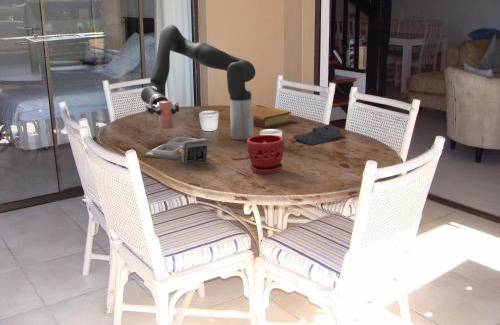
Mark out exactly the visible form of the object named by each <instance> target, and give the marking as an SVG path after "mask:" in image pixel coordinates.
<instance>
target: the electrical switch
mask: <svg viewBox="0 0 500 325" xmlns="http://www.w3.org/2000/svg"><path fill="white" fill-rule="evenodd" d="M196 139H197V140H188V141H184V142H183V148H182V157H181V162H182V163H185V164H186V165H187V166H189V165H195V164H203V163H206V162H207V155H208V154H207V153H208V144H207V143H208V139H206V138H199V139H198V138H196Z"/></svg>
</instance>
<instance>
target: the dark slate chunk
mask: <svg viewBox="0 0 500 325" xmlns="http://www.w3.org/2000/svg"><path fill="white" fill-rule="evenodd" d="M292 138H293V139H294V140H296V141H300V142H301V143H304V144H306V145H308V146H313V145H314V146H318V144H319V145H322V144H323V145H324V144H327V143H332V142H335V140H336V141H339V140H338V139H340V140H342V138H344V139H346V137H345V136H344V135H342V134H341V130H340V129H339V128H338V127H335V126H334V125H332V124H331V123H329V124H327V125H323V127H322V126H317V127H313V128H312V130H311V131H308V132H303V133H298V134H294V135H293V136H292Z"/></svg>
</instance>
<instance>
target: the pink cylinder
mask: <svg viewBox="0 0 500 325" xmlns="http://www.w3.org/2000/svg"><path fill="white" fill-rule="evenodd" d="M172 105H173V103H172V101H171V100H169V101H160V102H159V109H160V113H161V115H158V117H159V118H158V119H159V128H160V129H167V130H168V129H171V128H173V127H174V123H173V114H172Z"/></svg>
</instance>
